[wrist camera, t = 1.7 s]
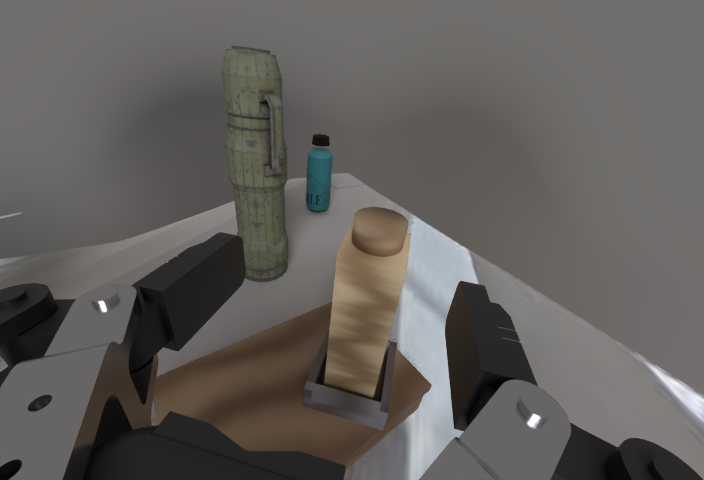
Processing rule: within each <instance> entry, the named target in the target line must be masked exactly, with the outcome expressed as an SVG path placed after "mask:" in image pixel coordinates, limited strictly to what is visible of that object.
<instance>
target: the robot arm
mask: <svg viewBox="0 0 704 480" xmlns="http://www.w3.org/2000/svg"><path fill="white" fill-rule="evenodd" d="M245 275H246V267H245V257H244V247H243V240H242V238H241V237H240V236H236V235H231V234H226V233H217V234H216V235H214V236H213V237H211V238H210V239H208V240H207V241H205V242H203V243H201V244H198V245H195V246H192V247H190V248H188V249H186V250H185V251H183V252H182V253H180V254H179V255H178V257H174V258H173V259H171V260H170V261H168V263H165V264H163V265H162V266H160V267H159V268H157V269H156V270H154V271H153V272H151V273H150V274H148V275H147V276H145V277H144V278H142V279H140V280H139V281H137V282H136V283H134V284H133V285H131V286H130V285H126V284H113V285H107V286H103V287H100V288H97V289H94V290H92V291H89V292H87V293H85V294H84V295H82V296H81V297H79V298H78V299H68V300H54V298H53V296H52V294H51V292H50V290H49V288H48V287H47V286H46V285H43V284H37V283H32V284H22V285H17V286H13V287H9V288H5V289H2V290H0V355H1V356H2V358H3V359H4V361H5V362H6V363H7V365H8V366H9V367H7V368H6V369H4V370H3V371H1V372H0V480H344V476H345V470H346V466H345V465H342V464H339V463H336V462H333V461H329V460H326V459H323V458H320V457H316V456H313V455H310V454H307V453H304V452H300V451H248V450H245V449H243V448H242V447H241V446H239V445H238V444H237V443H235V442H234V441H233V440H231V439H230V438H229V437H227V436H226V435H225V434H223V433H222V432H221V431H219V430H218V429H217V428H216V427H214V426H213V425H212V424H210V423H207V422H204V421H201V420H198V419H194V418H191V417H188V416H185V415H181V414H178V413H175V412H172V411H170V412H169V413H168V414H167V415H166V417H165V418H164V419H163V420H162V422H161V423H160V424H159V425H158V426H151V408H152V402H153V395H154V388H155V381H156V374H157V367H158V355H157V353H158V352H159V351H160V350H161V349H162V348H163V347H164V348H168V349H172V350H175V351H179V350H180V349H181V348H182V347H183V346H184V345H185V344H186V343H187V342H188V341H189V340H190V339H191V338H192V337H193V336H194V335H195V334H196V332H197V331H198V330H199V329H200V328H201V327H202V326H203V325H204V324H205V323H206V322H207V321H208V320H209V319H210V318H211V317H212V316H213V315H214V314H215V313H216V311H217V310H218V309H219V308H220V307H221V306H222V305H223V304H224V303H225V302H226V301H227V300H228V299H229V298H230V297H231V296H232V295H233V294H234V293H235V292H236V291H237V289H238V288H239V287H240V286H241V285H242V283H243V281H244V279H245ZM445 337H446V347H447V358H448V368H449V379H450V389H451V400H452V410H453V421H454V429H458V430H461V431H464V432H463V434H462V435H461V436H460V437H459V438H457V437H455V438H454V439H453V440H452V441H451V442H450V443H449V444H448V445H447V446H446V448H445V449H444V450H443V451H442V452H441V454H440V455H439V456H438V457H437V458H436V460H435V461H434V462H433V463H432V465H431V466H430V467H429V468H428V469H427V471H426V472H425V473H424V474H423V475H422V477H421V478H420V479H419V480H703V479H702V478H701V477H700V476H699V475H698V474H697V473H696V472H695V471H694V470H693V469H692V468H691V467H689V466H688V465H687V464H686V463H685V462H683V461H682V460H681V459H679V458H678V457H677V456H675V455H674V454H672V453H671V452H669V451H668V450H666V449H664V448H662V447H661V446H659V445H657V444H654V443H652V442H649V441H647V440H643V439H639V438H630V439H627V440H625V441H624V442H623V443H622V444H621V445H620V446H619V447H618V448H617V447H615V446H613V445H612V444H610V443H608V442H606V441H604V440H602V439H600V438H598V437H596V436H594V435H592V434H590V433H588V432H586V431H584V430H582V429H581V428H579V427H577V426H575V425H573V424H572V423H570V421H569V419H568V416H567V414H566V413H565V411H564V410H563V408H562V407H561V406H560V404H559V403H558V402H557V401H556V400H555V399H554V398H553V397H552V396H551V395H549V394H548V393H547V392H546V391H544V390H543V389H541V388H539V387H538V385H537V383H536V380H535V378H534V375H533V373H532V370H531V368H530V365H529V363H528V360H527V358H526V355H525V353H524V350H523V348H522V345H521V343H519V341H520V340H519V337H518V335H517V332H515V327H514V325H513V322H512V320H511V317H510V316H509V315H508V314H507V312H506V311H505V310H504V309H503V308H502V307H501V306H500V305H499V304H496V303H491V302H490V300H489V297H488V294H487V291H486V288H485V286H483V285H479V284H474V283H469V282H464V281H460V282H459V284H458V286H457V288H456V291H455V294H454V297H453V300H452V303H451V306H450V309H449V312H448V315H447V319H446V326H445Z"/></svg>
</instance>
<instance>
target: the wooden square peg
mask: <svg viewBox="0 0 704 480" xmlns="http://www.w3.org/2000/svg"><path fill="white" fill-rule="evenodd" d="M407 228H408V221H407V219H406V218H405V217H404V216H403V215H401V214H400V213H398V212H395V211H393V210H389V209H385V208H378V207H369V208H363V209H360V210H358V211H357V212H356V213H355V215H354V222H353V223H352V225H351V227H350V228H349V230H348V232H347V234H346V236H345V238H344V240H343V242H342V244H341V246H340V248H339V249H338V251H337V260H336V270H335V280H334V290H333V300H332V310H331V320H330V330H329V340H328V350H327V360H326V370H325V380H324V386H326V387H330V388H333V389H336V390H340V391H343V392H347V393H350V394H353V395H357V396H360V397H363V398H367V399H370V400H373V396H374V393H375V389H376V385H377V381H378V377H379V373H380V370H381V366H382V362H383V358H384V354H385V350H386V347H387V343H388V339H389V335H390V331H391V328H392V324H393V320H394V316H395V312H396V308H397V305H398V301H399V297H400V293H401V289H402V285H403V282H404V278H405V274H406V270H407V265H408V256H409V247H410V238H411V234H410V233H406V232H407Z"/></svg>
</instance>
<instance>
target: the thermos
mask: <svg viewBox="0 0 704 480" xmlns="http://www.w3.org/2000/svg"><path fill="white" fill-rule="evenodd" d="M222 78H223V88H224V97H225V107H226V112H227V113H228V120H229V122H228V123H227V126H228V135H227V139H226V144H225V148H226V157H227V165H228V175H229V180H230V181H231V183H232V185H233V189H234V198H235V207H236V217H237V226H238V233H237V236H240V237H241V238H242V240H243V247H244V257H245V267H246V275H245V278H247V279H249V280H252V281H258V282H265V281H271V280H274V279H277V278H279V277H281V276H282V275H283V274H284V273H285V272H286V270H287V258H288V236H287V233H286V231H285V205H284V185H285V183H286V181H287V147H286V144H285V141H284V134H283V105H282V78H281V74H280V70H279V67H278V63H277V60H276V57H275V55H271V54H270V51H267V50H261V49H254V48H246V47H239V46H232V49H226V52H225V57H224V62H223V67H222Z"/></svg>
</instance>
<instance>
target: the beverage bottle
mask: <svg viewBox="0 0 704 480" xmlns="http://www.w3.org/2000/svg"><path fill="white" fill-rule="evenodd" d="M312 144H313V145H316V146H329V136H327V135H322V134H315V135H313V141H312ZM332 158H333V155H332V153H331V152H330V151H329V150H328V149H325V148H312V149H311V150H310V151H309V152H308V166H307V178H306V179H307V191H306V193H307V198H306V205H307V207H308V208H309V209H312V210H316V211H322V210H326V209H328V207H329V200H330V188H331V187H330V185H331V184H330V183H331V170H332Z"/></svg>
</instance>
